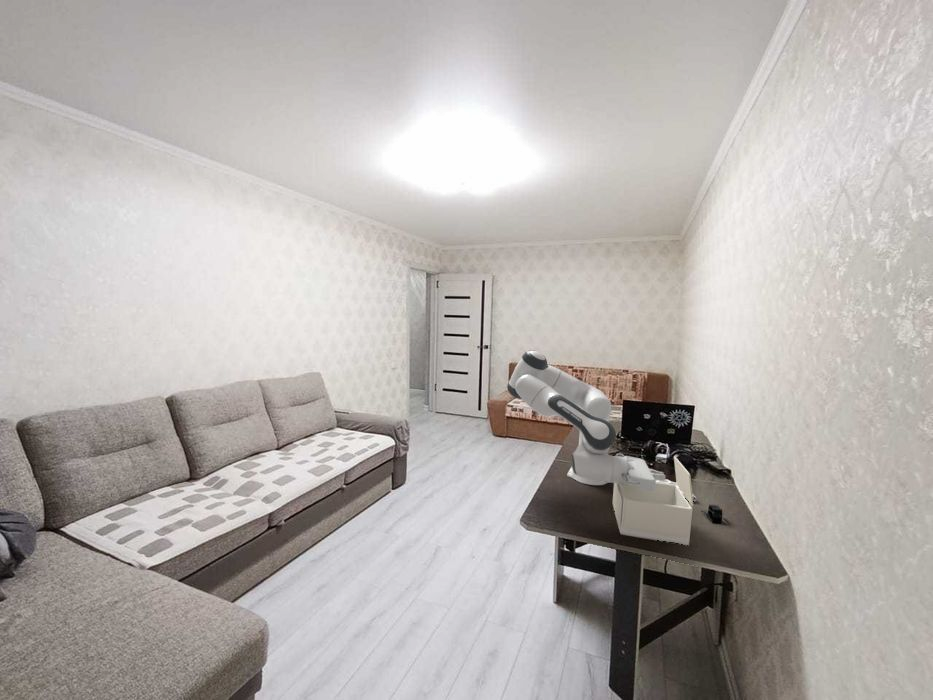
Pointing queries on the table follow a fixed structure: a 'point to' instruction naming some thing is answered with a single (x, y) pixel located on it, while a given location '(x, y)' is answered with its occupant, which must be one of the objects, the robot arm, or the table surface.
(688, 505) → the carton
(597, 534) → the table surface
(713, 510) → the black angular piece
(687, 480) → the carton flap
